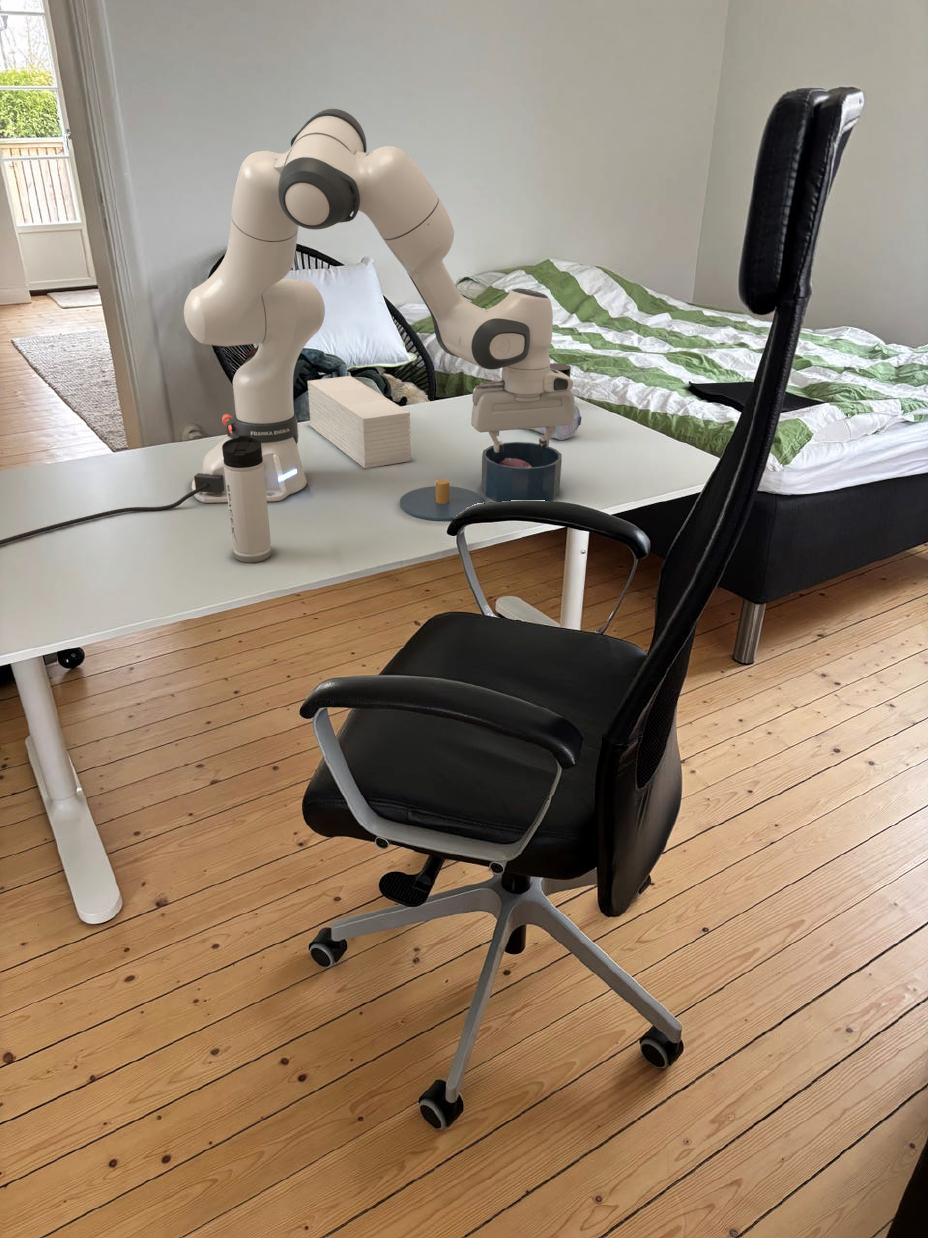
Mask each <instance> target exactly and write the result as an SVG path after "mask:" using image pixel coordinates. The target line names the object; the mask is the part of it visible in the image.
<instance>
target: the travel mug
mask: <svg viewBox="0 0 928 1238" xmlns="http://www.w3.org/2000/svg"><path fill="white" fill-rule="evenodd" d="M222 451H223V458H224V459H223V460H224V472H225V481H226V489H227V498H228V502H227V506H228V515H229V524H230V525H229V526H230V534H231V541H232V550H233V557H234V559H236V560H237V561H239V562H242V563H250V564H251V563H259V562H262V561H265V560H267V559H269V558H270V557H271V555H272V543H271V542H272V541H271V532H270V531H271V530H270V523H269V522H270V519H269V508H268V501H267V497H266V486H265V475H264V465H263V458H262V447H261V442H260V441H259V440H257V439H254V438H250V435H239V438H233V439H230V440H228V441H226V442H225V443H224V444H223V445H222Z"/></svg>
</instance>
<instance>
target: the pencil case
mask: <svg viewBox="0 0 928 1238" xmlns="http://www.w3.org/2000/svg"><path fill="white" fill-rule="evenodd" d="M581 425H582V416H581V412H580V408H579V406H578V404H577V402H576V401H575V414H574V420H573V422H572V423H571V424H570V425H566V426H556V430H555V433H554V434H553V436H552V437H551V439H555V440H559V441H563V440H568V439H570V438H572V437H573V436H574V435H575V434H576V433H577V430H579V427H580V426H581ZM529 430H532V431H534V432H537V433H540V434H542V435H544V434H545V432H546V430H547V429H545V427H541V428H529Z"/></svg>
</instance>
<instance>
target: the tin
mask: <svg viewBox="0 0 928 1238" xmlns="http://www.w3.org/2000/svg"><path fill="white" fill-rule="evenodd" d="M502 443H503V444H504V448H503V449H504V451H503V452H498V453H496V452H495V451H494V444H492V445H489V446H488V447H486V448H485V449H483V450H482V454H481V483H480V484H481V485H480V486H481V487H480V491H481V493H482V494H483V496H484V497H485V498H487V499H489V500H492V501H493V502H496V503H499V502H502V501H511V500H545V501H550V502H553V501H555V500H556V499H557V498H559V496H560V489H561V488H560V487H561V475H562V461H563V460H562V458H563V457H562V456H563V454H562V453H561V452H560V451H559V450H557V449H556V448H555V447H551V446H549V448H544V449H541V448H540V447H539V443H535V442H528V441H527V442H525V441H512V442H502ZM505 458H512V459H520V460H523V461H525V462H527V463H529V464H530V465H531V466H532V467H531V468H524V467H511V466H506V465H501V464H499V463H500V462H501V461H503V460H504V459H505Z"/></svg>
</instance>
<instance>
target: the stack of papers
mask: <svg viewBox="0 0 928 1238" xmlns="http://www.w3.org/2000/svg"><path fill="white" fill-rule="evenodd" d="M307 389H308V390H307V393H308V394H307V395H308V409H309V411H308V412H309V426H310V427H311V428H312V429H314V431H316V432H317V433H318V434H320V435H321V436H323V437H324V438H325V439H326V440H327V441H329V442H330V443H331V444H333V445H334V446H335V447H337V448H338V449H339V450H340V451H341V452H343V453H344V454H346V455H347V456H348V457H349V458H350V459H352V460H353V461H355V462H356V463H357V464H358V465H360V466H361V467H362V468H364V469H371V468H377V467H382V466H383V467H384V466H388V465H389V466H390V465H395V464H400V463H407V462H411V422H410V421H411V412H410V411H408V410H407V409H405V408H404V407H402V406H401V405H399V404H397V403H395V402H394V401H392V400H391V399H389V398H387V397H386V396H384V395H382V394H381V393H379V392H378V391H376V390H374V389H372V388H371V387H369V386H368V385H366V384H365V383H363V382H361V381H360V380H358V379H356V378H355V377H353V376H351V375H347V376H346V375H345V376H338V377H329V378H320V379H313V380H312V379H311V380H307Z"/></svg>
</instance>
